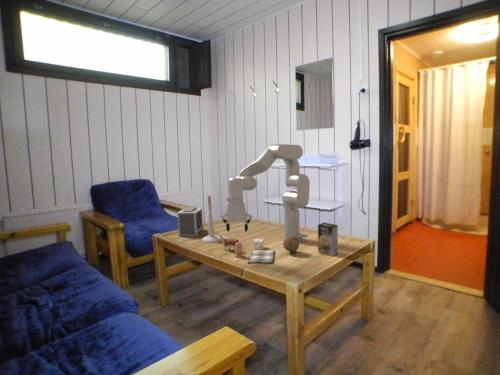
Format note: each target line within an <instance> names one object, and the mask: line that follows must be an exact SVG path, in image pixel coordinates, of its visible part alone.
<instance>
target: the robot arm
mask: <svg viewBox="0 0 500 375" xmlns="http://www.w3.org/2000/svg"><path fill="white" fill-rule="evenodd" d="M303 154H304V150H303V148H302V146H301V145H299V144H285V143H277V144H270V145H268V146H267V147H266V148H265V149H264V151H263V152H262V153H261V154H260V155H259V157H258V158H257V159H256V160H255V161H253V162H252V163H250V164H249V165H247V166H246V167H244V168H243V169H241V171H240V172H239V174H238V175H236V177H231V178H229V179H228V198H226V201H227V202H228V203H227V207H226V213H225V214H223V215H221V217H220V218H221V220H222V222H223V223H225V226H226V230H227V232H228V233H229V232H230V230H231V229H230V228H231V227H230V223H236V222H237V223H238V222H239V223H241V222H242V223H244V232H245V233H246V232H247V231H248V230H249V223H250V222H251V221H252V220H253V215H252V214H249V213H247V212H246V211H247V210H246V204H245V202H244V191H253V190H255V189H256V188H257V187H258V186H257V185H258V180H257V179H256V178H255V176H256V175H259V174H260V175H261V174H262V173H265V172H267V171H268V170H269V169H270V168H271V167H272V165H273V164H274V163H275V162H276V161H277V160H282V161H283V162H284V164H285V165H284V166H285V180H284V182H285V183H284V184H285V186H286V188H288V189H293V190H286V191H285V192H284V193H283V194H282V196H281V197H282V198H281V199H282V200H281V201H282V204H283V211H284V212H283V214H284V217H283V218H284V236H282V241H283V242H284V239H285V238H286V237H288V236H290V235H293V236H296V237H297V238H298V239H299V243H300V242H302V241H303V238H308V234H306V233H301V230H300V229H301V226H300V224H301V223H300V220H301V219H300V216H301V215H300V210H299V208H300V209H301V208H303V209H304V208H305V207H307V206H308V204H309V202H310V201H309V200H310V189H311V188H310V185H311V183H310V182H311V181H310V178H309V176H308V175H307V174H306V173H305V174H304V173H300V172H301V171H300V167H301V166H300V163H299V159H301V157H302V156H303ZM225 218H226V219H225ZM247 218H248V220H247Z"/></svg>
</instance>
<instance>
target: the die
mask: <svg viewBox="0 0 500 375" xmlns="http://www.w3.org/2000/svg"><path fill="white" fill-rule="evenodd" d="M253 249H254V250H264V239H263V238H255V239H253Z"/></svg>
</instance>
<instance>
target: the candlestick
mask: <svg viewBox="0 0 500 375" xmlns="http://www.w3.org/2000/svg"><path fill="white" fill-rule="evenodd" d="M212 208H213V205H212V195H207V209H208V235H206V236H204V237H203V238H202V239H201V241H202V242H203V243H207V244H211V243H218V242H220V241H222V238H221V237H222V236H220V235H216V234H215V230H214V229H215V228H214V221H213V213H212Z"/></svg>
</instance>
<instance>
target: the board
mask: <svg viewBox="0 0 500 375" xmlns="http://www.w3.org/2000/svg"><path fill="white" fill-rule="evenodd" d="M274 259H275V250H273V249H271V250H269V249H266V250H265V249H263V250H253V249H252V250H251V252H250V255H249V259H248V262H247V264H274V262H275V260H274Z"/></svg>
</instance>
